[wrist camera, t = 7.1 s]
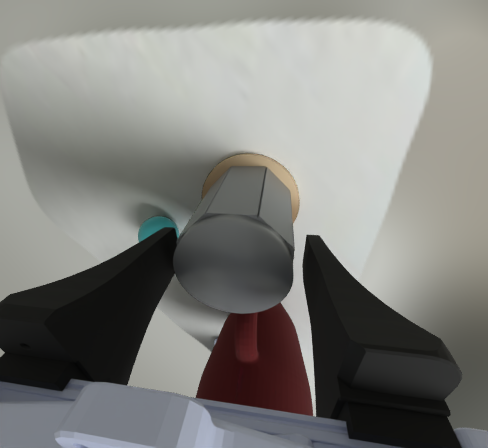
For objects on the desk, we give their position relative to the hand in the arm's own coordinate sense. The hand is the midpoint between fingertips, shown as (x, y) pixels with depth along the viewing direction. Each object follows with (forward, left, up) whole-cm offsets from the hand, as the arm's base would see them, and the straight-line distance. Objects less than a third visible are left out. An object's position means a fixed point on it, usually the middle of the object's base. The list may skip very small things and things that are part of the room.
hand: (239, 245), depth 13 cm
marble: (-2, +7, -5) cm, 9 cm away
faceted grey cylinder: (0, 0, -5) cm, 5 cm away
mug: (-10, -1, -5) cm, 12 cm away
